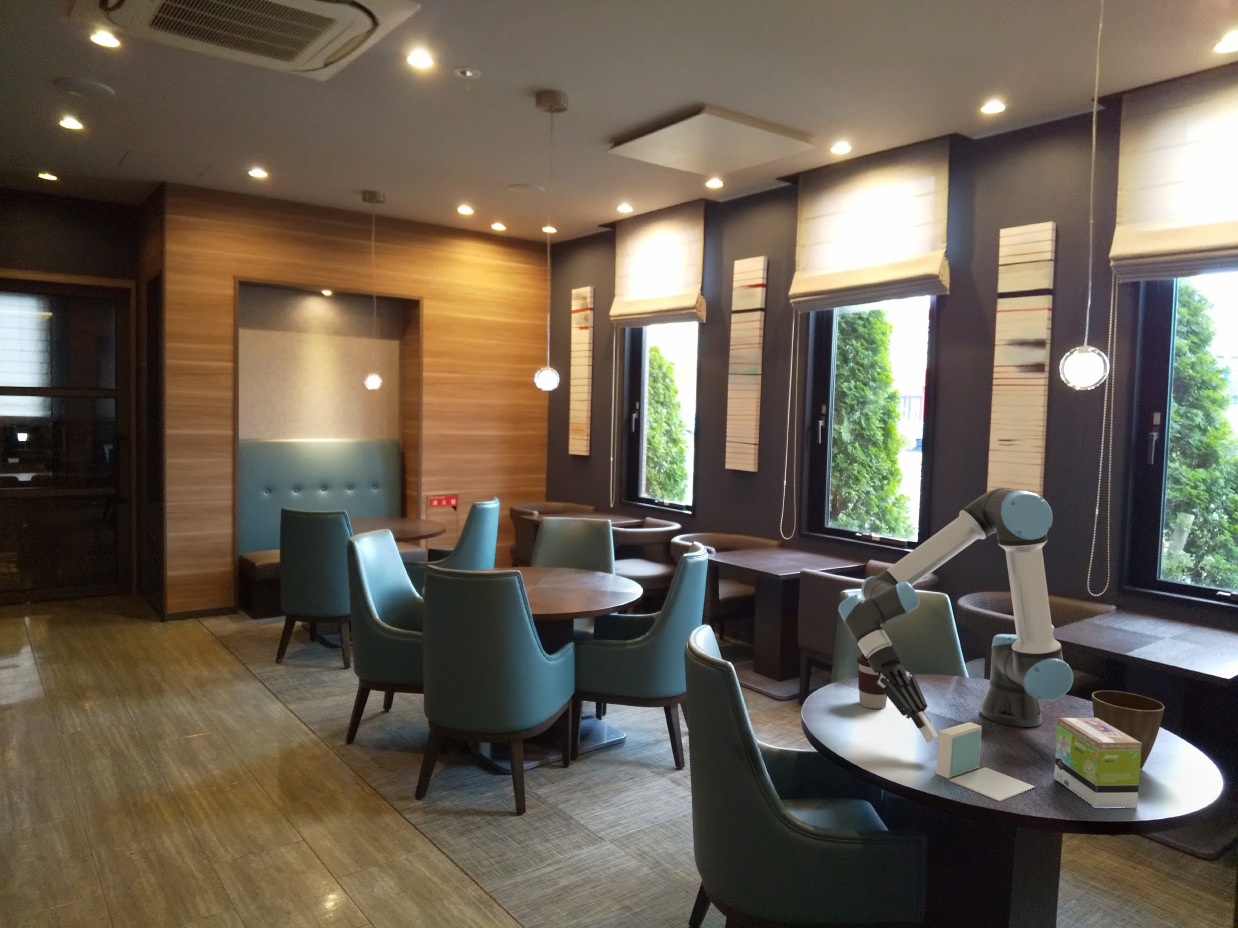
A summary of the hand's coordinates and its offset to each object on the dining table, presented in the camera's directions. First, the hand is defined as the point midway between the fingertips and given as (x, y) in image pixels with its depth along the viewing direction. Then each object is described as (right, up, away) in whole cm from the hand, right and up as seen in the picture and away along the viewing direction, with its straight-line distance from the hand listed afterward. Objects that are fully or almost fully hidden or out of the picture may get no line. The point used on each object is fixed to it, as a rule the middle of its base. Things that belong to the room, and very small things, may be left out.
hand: (932, 739), depth 201 cm
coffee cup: (-2, -3, +39) cm, 40 cm away
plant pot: (+46, -7, +2) cm, 47 cm away
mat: (+9, -6, -12) cm, 16 cm away
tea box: (+30, -7, -15) cm, 34 cm away
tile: (+4, -6, -5) cm, 9 cm away
